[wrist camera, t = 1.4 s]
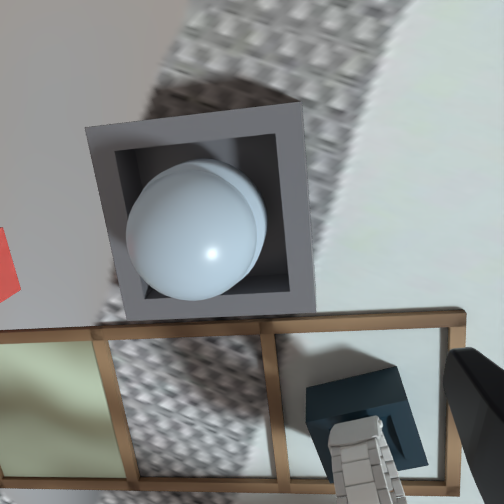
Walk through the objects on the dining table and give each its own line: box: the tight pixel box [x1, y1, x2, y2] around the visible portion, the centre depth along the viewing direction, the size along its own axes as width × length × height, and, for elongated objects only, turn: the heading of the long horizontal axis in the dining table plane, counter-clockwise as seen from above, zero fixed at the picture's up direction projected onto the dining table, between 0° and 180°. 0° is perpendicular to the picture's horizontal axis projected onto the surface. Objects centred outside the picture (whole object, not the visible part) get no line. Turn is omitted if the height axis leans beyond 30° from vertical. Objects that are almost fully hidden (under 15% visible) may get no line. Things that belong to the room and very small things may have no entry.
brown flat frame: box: [0, 310, 467, 497], centre depth 28 cm, size 13×32×1 cm, turn 96°
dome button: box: [126, 159, 268, 301], centre depth 19 cm, size 6×6×6 cm
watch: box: [306, 366, 428, 504], centre depth 22 cm, size 6×8×11 cm
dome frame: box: [85, 102, 316, 321], centre depth 23 cm, size 10×10×3 cm
